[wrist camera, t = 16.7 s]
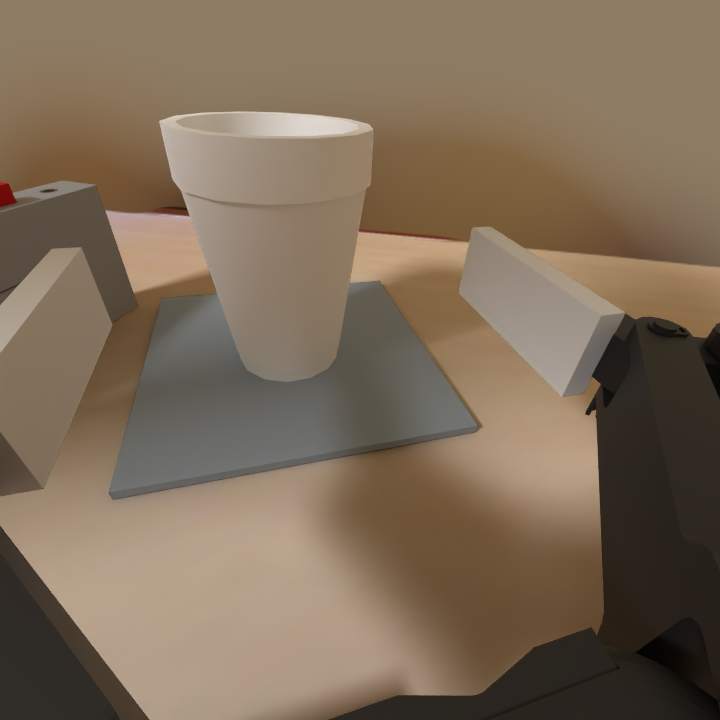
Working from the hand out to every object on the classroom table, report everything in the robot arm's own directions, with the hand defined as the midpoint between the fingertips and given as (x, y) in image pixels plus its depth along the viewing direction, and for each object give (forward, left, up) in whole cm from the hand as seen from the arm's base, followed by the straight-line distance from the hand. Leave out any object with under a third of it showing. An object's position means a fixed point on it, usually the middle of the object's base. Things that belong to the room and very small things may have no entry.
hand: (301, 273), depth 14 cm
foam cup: (0, +8, -9) cm, 13 cm away
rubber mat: (0, +8, -10) cm, 13 cm away
